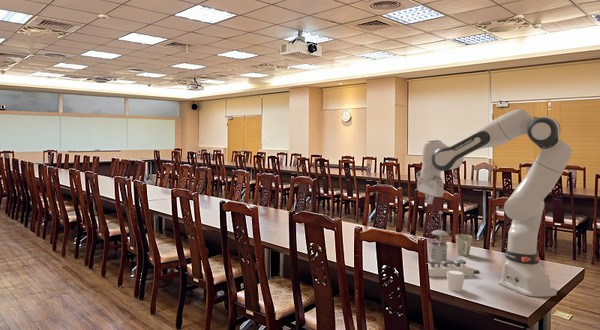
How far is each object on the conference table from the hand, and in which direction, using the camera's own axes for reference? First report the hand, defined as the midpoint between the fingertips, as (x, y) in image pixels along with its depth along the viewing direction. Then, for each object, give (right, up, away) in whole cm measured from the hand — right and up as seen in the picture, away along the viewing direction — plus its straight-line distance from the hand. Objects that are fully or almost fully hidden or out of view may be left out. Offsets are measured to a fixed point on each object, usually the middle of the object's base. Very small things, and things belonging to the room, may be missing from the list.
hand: (429, 203), depth 208 cm
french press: (+9, -30, +14) cm, 34 cm away
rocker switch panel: (+8, -31, -8) cm, 33 cm away
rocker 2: (+12, -26, -8) cm, 30 cm away
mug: (+26, -30, +24) cm, 46 cm away
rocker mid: (+5, -26, -9) cm, 28 cm away
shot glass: (+2, -32, -29) cm, 44 cm away
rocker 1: (-1, -26, -10) cm, 28 cm away
